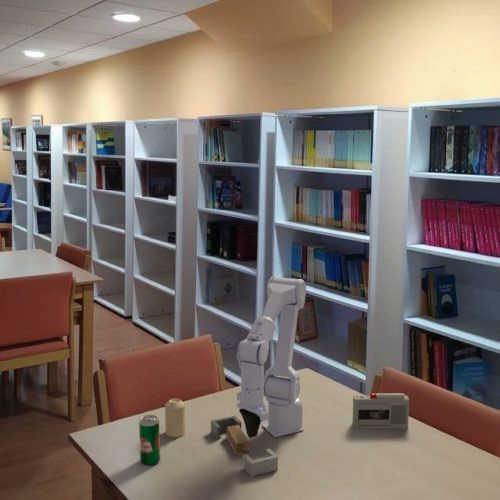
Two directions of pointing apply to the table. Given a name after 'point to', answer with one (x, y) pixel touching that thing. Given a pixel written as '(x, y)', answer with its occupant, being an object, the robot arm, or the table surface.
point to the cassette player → (381, 410)
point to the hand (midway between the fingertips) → (252, 435)
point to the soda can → (149, 440)
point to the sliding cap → (261, 464)
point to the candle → (175, 418)
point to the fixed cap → (223, 425)
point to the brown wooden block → (237, 440)
